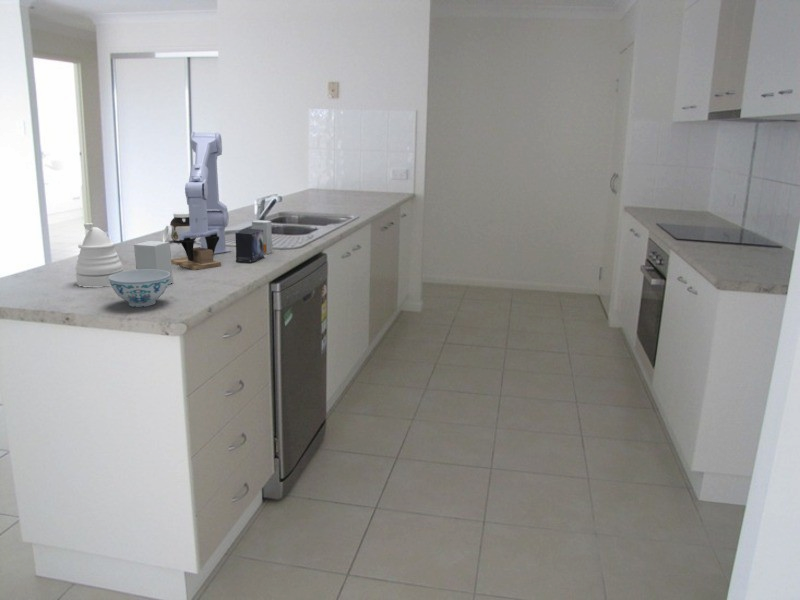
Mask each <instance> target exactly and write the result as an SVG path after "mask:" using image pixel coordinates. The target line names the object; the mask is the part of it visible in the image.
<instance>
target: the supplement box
mask: <svg viewBox="0 0 800 600" xmlns="http://www.w3.org/2000/svg"><path fill="white" fill-rule="evenodd" d="M133 249H134V256H135V257H134V258H135V268H136V269H135V270H141V269H155V270H164V271H167V272H169V273H170V279H169V283H168V284H169V285H172V284H174V277H173V276H174V275H173V274H174V273H173V264H172V263H171V259H172V254H171V242H170V241H169V242H163V241H159V240H158V241H157V240H147V241H143V242H139V243H134V244H133ZM171 283H172V284H171Z"/></svg>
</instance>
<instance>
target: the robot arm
mask: <svg viewBox="0 0 800 600" xmlns="http://www.w3.org/2000/svg"><path fill="white" fill-rule="evenodd" d="M222 142H223V141H222V136H221V134H220V132H217V131H216V132H195V131H193V132H191V134H190V148H191V150H192V151H193V152H194V153H195V156H194V157H195V158H194V159H195V160H194V164H193V165H191V167H190V171H189V178H188V182H187V183H185V187H184V193H185V198H186V205H187V206H188V207H187V208H188V212H189V221H190V232H185V233H179V234H178V240H180V243H179V244H181V246H182V247H183V250H184V252H185V254H186V257H188V260H190V261H193V248H194V244H195V240H194V241H191V240H190V239H191V238H196V239H197V238H199V239H200V247H202V248H206V249H210V250H213V257H214V255H215V254H216V255H217V254H223V253H228V252H231V249H227V246H226V245H227V244H226V229H225V228H227V227H228V226H229V212H228V206H227V205H226V204H225V203H223V202H221V201H220V196H219V195H220V194H219V193H220V192H219V177H218V175H219V174H218V164H217V163H218V162H217V161H218V157H219V156H222V155H223V154H222V153H223V143H222ZM192 236H193V237H192Z"/></svg>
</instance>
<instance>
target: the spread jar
mask: <svg viewBox="0 0 800 600" xmlns="http://www.w3.org/2000/svg"><path fill="white" fill-rule="evenodd" d="M172 215H173V218H172V219H171V221H170V224H169V225H166V226H165V227H164V230H163V234H162V242H170V240H171V239H172V241H173V242H175V243H176V244H181V243H180V240H178V234H179V233H185V232H190V221H189V211H185V212H184V211H178V212H173V214H172ZM192 237H193V236H192ZM196 239H197V238H191V239H190V240H191V241H194V242H195V240H196Z"/></svg>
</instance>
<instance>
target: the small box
mask: <svg viewBox="0 0 800 600" xmlns="http://www.w3.org/2000/svg"><path fill="white" fill-rule="evenodd" d="M234 234H235V236H234V237H235V238H234V239H235V262H236V263H244V264H245V263H246V264H253V263H255V262H257V260H258V261H260V260H262V259H264V258H265V257H264V256H265V254H264V245H263V230H259V229H252V228H246V229H242V230H239V231H236V232H235V233H234Z"/></svg>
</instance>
